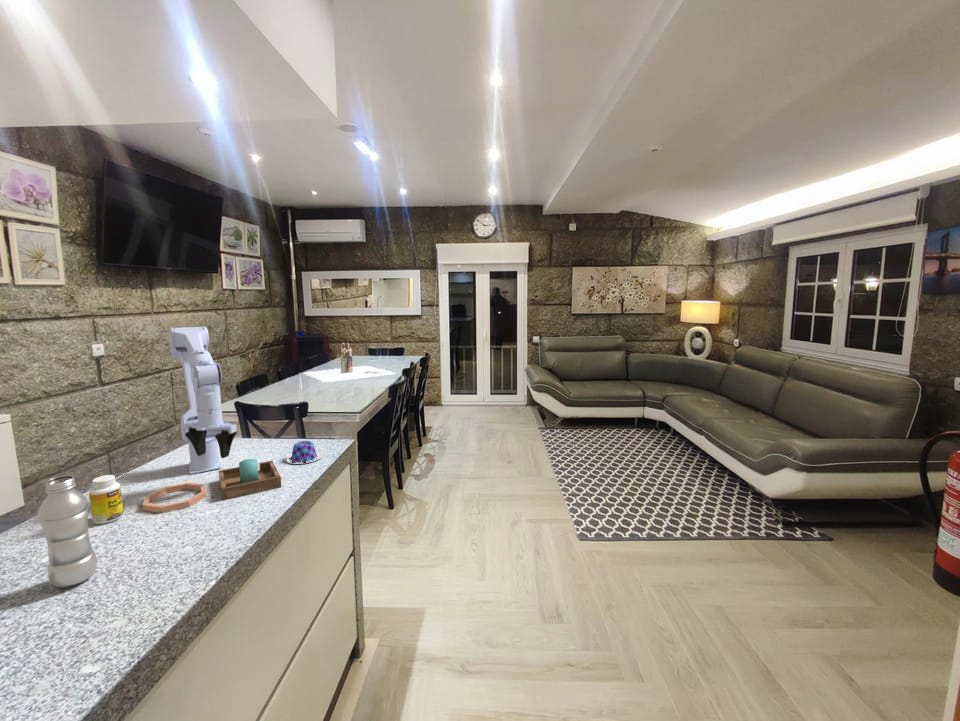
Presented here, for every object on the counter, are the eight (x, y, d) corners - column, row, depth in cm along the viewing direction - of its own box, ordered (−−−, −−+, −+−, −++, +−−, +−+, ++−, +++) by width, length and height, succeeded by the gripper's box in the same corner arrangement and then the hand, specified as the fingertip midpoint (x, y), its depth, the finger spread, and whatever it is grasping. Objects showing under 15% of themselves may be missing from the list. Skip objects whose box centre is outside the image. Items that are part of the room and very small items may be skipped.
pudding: (285, 468, 131) (284, 452, 130) (282, 455, 141) (281, 440, 140) (326, 461, 136) (325, 446, 136) (320, 449, 147) (319, 435, 146)
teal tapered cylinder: (236, 484, 117) (235, 464, 117) (252, 475, 123) (251, 456, 122) (251, 486, 117) (249, 465, 116) (266, 477, 123) (264, 457, 122)
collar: (146, 495, 111) (145, 490, 111) (204, 484, 119) (204, 479, 118) (142, 517, 101) (141, 511, 101) (206, 503, 108) (206, 497, 108)
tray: (219, 480, 121) (218, 470, 121) (272, 469, 129) (272, 460, 128) (222, 500, 110) (222, 489, 109) (281, 487, 118) (280, 476, 117)
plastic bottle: (107, 573, 81) (94, 474, 78) (63, 597, 74) (46, 490, 71) (85, 566, 83) (72, 469, 80) (40, 588, 76) (24, 484, 73)
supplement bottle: (111, 525, 97) (105, 483, 96) (86, 525, 97) (80, 483, 96) (130, 512, 103) (125, 473, 101) (106, 512, 103) (101, 473, 101)
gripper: (173, 410, 113) (178, 458, 115) (221, 414, 110) (225, 463, 112) (195, 404, 120) (199, 449, 122) (240, 407, 117) (244, 453, 119)
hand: (213, 455), depth 118 cm, fingers open, 7 cm apart
